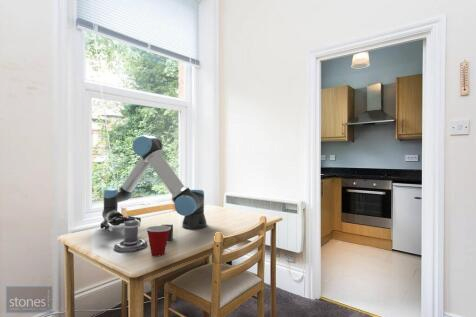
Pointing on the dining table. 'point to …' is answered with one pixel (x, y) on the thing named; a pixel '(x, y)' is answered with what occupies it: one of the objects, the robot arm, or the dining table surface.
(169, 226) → the box
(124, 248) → the mount plate
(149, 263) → the dining table surface
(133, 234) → the lens
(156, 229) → the plastic cup
